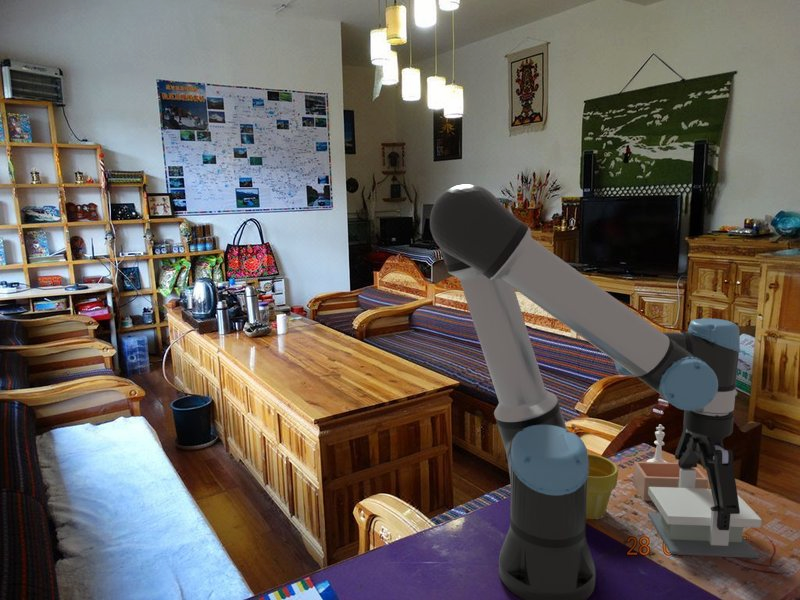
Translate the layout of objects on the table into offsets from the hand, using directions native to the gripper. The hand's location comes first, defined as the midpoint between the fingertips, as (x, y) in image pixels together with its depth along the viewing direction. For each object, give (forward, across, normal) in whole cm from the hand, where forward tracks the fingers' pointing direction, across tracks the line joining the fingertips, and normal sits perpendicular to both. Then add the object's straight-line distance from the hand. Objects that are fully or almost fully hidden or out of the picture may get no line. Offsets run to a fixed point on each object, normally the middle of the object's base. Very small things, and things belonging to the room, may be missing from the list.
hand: (701, 521), depth 99 cm
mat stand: (+3, 0, 0) cm, 3 cm away
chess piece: (+3, +27, -2) cm, 27 cm away
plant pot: (+3, +7, +18) cm, 20 cm away
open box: (+3, +15, 0) cm, 15 cm away
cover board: (-2, 0, 0) cm, 2 cm away
